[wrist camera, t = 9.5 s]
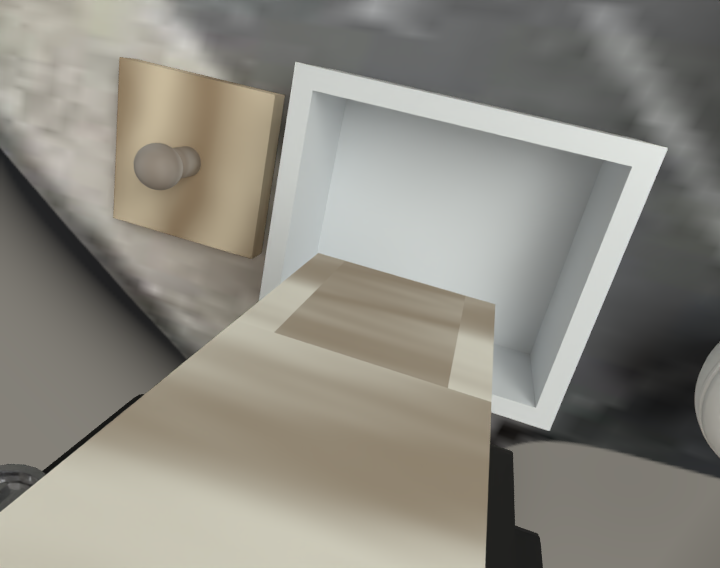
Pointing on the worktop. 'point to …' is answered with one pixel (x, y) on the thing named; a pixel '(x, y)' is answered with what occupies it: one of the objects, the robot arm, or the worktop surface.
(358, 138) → the bin
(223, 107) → the square lid with knob
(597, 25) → the worktop surface
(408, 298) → the strut
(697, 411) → the spinning top
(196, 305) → the worktop surface
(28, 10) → the worktop surface
